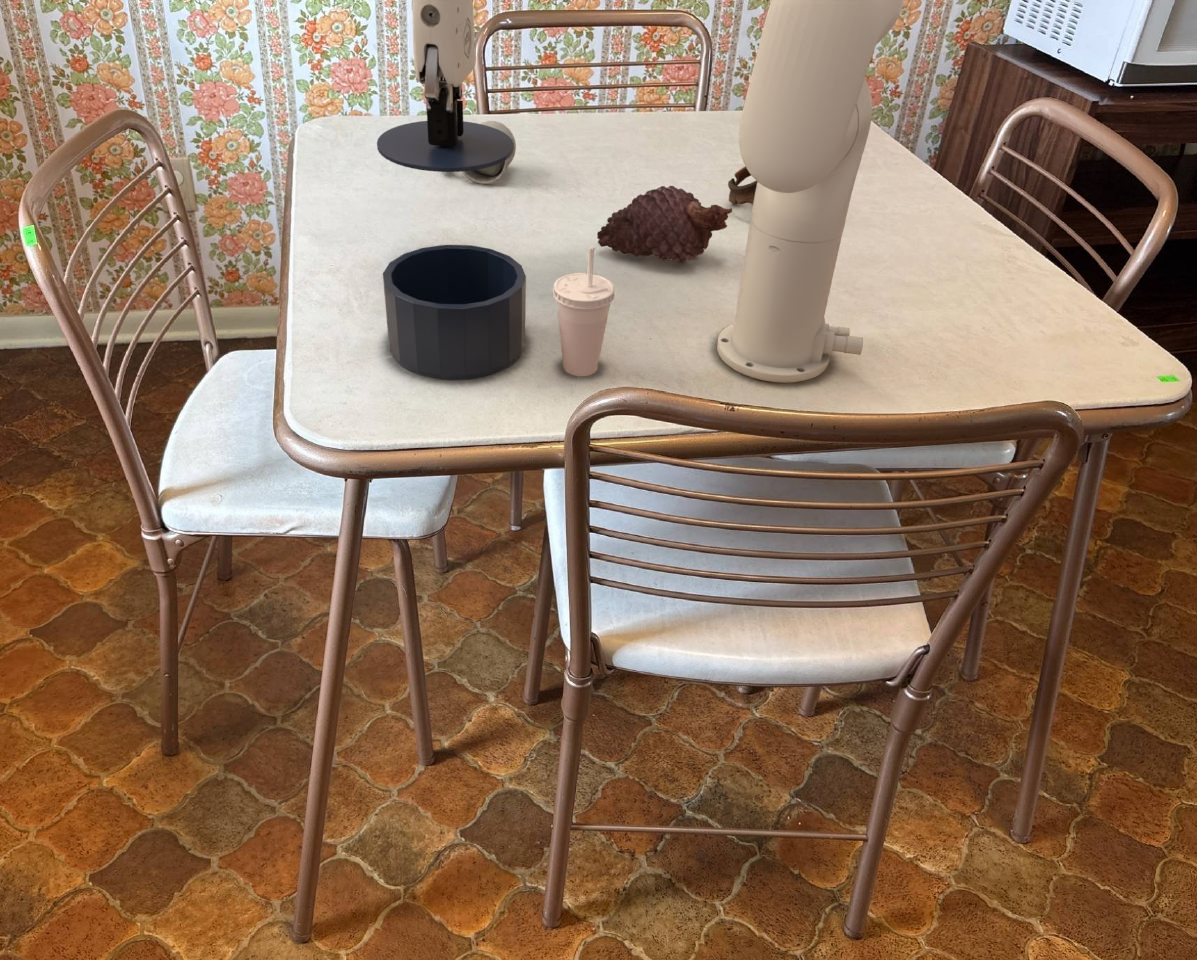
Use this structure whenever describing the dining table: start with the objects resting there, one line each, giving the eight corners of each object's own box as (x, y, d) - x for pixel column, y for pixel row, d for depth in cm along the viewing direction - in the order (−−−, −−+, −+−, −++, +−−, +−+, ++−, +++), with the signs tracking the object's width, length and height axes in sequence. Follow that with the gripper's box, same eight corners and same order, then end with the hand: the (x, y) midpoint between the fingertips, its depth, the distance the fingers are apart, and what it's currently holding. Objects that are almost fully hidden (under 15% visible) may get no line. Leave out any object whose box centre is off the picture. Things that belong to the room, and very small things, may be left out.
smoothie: (603, 387, 104) (611, 265, 96) (544, 377, 105) (547, 256, 97) (614, 356, 109) (623, 238, 101) (558, 348, 110) (562, 230, 102)
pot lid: (524, 136, 122) (524, 85, 118) (499, 183, 109) (499, 128, 106) (398, 123, 123) (395, 72, 119) (360, 169, 110) (355, 114, 106)
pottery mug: (791, 233, 140) (770, 183, 135) (733, 245, 145) (711, 197, 141) (816, 186, 146) (797, 136, 142) (760, 198, 152) (739, 151, 147)
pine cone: (597, 273, 125) (585, 193, 124) (609, 278, 135) (598, 204, 134) (736, 249, 122) (726, 167, 121) (739, 256, 132) (729, 180, 131)
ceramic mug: (518, 167, 153) (517, 116, 148) (507, 187, 146) (506, 134, 141) (451, 161, 153) (448, 111, 149) (437, 181, 147) (434, 128, 142)
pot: (534, 319, 115) (535, 251, 110) (511, 387, 103) (510, 315, 98) (409, 306, 116) (404, 238, 111) (372, 373, 104) (365, 300, 99)
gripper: (457, -15, 97) (462, 168, 109) (490, -46, 110) (491, 120, 121) (382, -22, 98) (395, 161, 109) (424, -52, 110) (431, 115, 122)
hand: (446, 138), depth 115 cm, fingers closed on pot lid, 2 cm apart
